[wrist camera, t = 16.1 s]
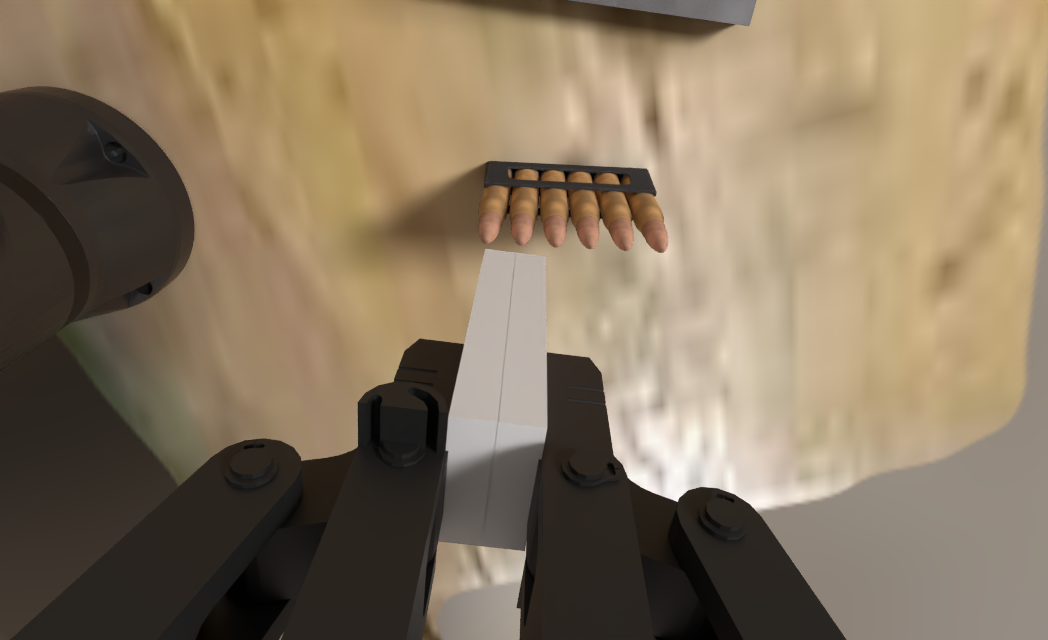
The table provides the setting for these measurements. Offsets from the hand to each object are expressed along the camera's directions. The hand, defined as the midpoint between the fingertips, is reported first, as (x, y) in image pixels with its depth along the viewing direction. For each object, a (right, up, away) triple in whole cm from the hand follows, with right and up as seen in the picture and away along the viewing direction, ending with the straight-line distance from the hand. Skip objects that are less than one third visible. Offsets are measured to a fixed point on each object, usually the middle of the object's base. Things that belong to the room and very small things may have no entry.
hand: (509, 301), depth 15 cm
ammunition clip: (+3, +9, +25) cm, 27 cm away
